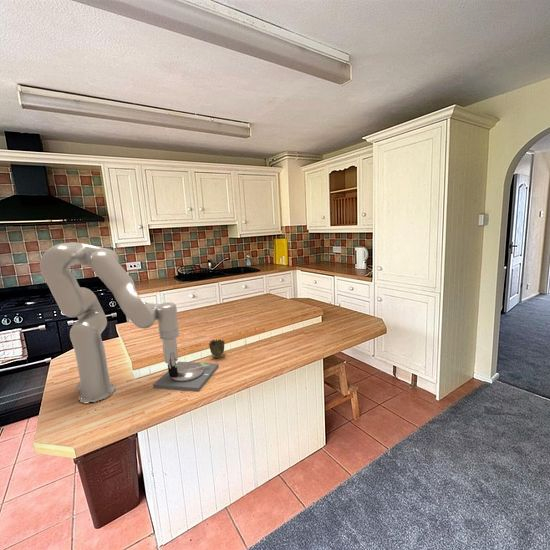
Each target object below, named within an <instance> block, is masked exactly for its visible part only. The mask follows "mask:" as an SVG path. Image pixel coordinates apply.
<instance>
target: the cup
mask: <svg viewBox="0 0 550 550" xmlns="http://www.w3.org/2000/svg"><path fill="white" fill-rule="evenodd" d="M208 345H209V350H210V353H211V355H213V357H214V358H215V359H218V360H219V359H221V358H222V356H223V354H224V352H225V340H224V339H215V340H214V339H213V340H211V341H209V342H208Z"/></svg>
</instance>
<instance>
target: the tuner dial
mask: <svg viewBox="0 0 550 550" xmlns="http://www.w3.org/2000/svg"><path fill="white" fill-rule="evenodd" d="M170 361H171V360H170ZM198 363H199V362H196V363H188V364H183V365H180V366H178V367H177V372H178V376H175V377H171V379H172V380H174V381H178V382H184V381H190V380H193V379H196V378H198V377H200V376H201V375H202V374H203V373H204V367H206V366H210V365H209V364H208V365H204V366H203V365H201V364H198ZM170 364H171V363H170Z"/></svg>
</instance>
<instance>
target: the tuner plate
mask: <svg viewBox="0 0 550 550" xmlns="http://www.w3.org/2000/svg"><path fill="white" fill-rule="evenodd" d="M188 363H198V364H201V365H203V366H204V365H208V364H209V365H210V366H206V367H204V373H203V374H202V375H201V376H200V377H198V378H196V379H193V380H190V381H184V382H178V381H174V380H172V379H171V378H170V376H169V371H168V370H167V371H166V372H164V374H163V375H162V376H161V377H159V378H158V379H157V381H155V382H154V383H153V384H152V388H153V389H159V390H174V391H175V390H176V391H187V392H200V391H201V390H202V389H203V388H204V386H205V385H206V383H207V382H208V381H209V380H210V378H211V377H212V376H213V375H214V373H215V372H216V371H217V370H218V368H220V367H219V363H210V362H209V363H208V362H191V361H176V366H177V367H178V366H180V365H183V364H188ZM212 374H213V375H212Z"/></svg>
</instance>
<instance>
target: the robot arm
mask: <svg viewBox="0 0 550 550" xmlns="http://www.w3.org/2000/svg"><path fill="white" fill-rule="evenodd" d="M119 261H120V259H119V255H118V254H117V252H115V251H114V250H112V249H111V248H110V249H109V248H106V247H102V246H97V245H91V244H87V243H81V242H74V241H73V242H71V241H70V242H62V243H57V244H55V245H53V246H51V247H50V248H48V249H47V250H46V251H45V252H44V253H42V256H41V257H40V261H39V270H40V273H41V275H42V277H43V279H44V281H45V283H46V285H47V286H48V288H49V290H50V292H51V295H52V296H53V298H54V301H55V302H56V304H57V306H58V308H59V310H60V311H61V313H62V314H63V315H64V316H66V317H68V318H77V320H76V321H75V322H74V323H73V325H72V326H71V328H70V331H69V338H70V341H71V343H72V344H71V345H72V347H73V349H74V354H75V359H76V363H77V369H78V375H79V379H80V381H78V383H77V385H76V386H75V390H76V391H80V392H79V395H78V396H77V399H78V401H79V400H80V401H82V402H94V403H97V402H96V401H98V402H100V401H99V400H101V401H103V400H102V399H104V400H105V398H106V399H107V398H109V397H110V395H111V396H112V395H113V394H114V393H115V392H116V385H115V384H114V383H112V382H111V381H110V380H111V379H110V376H109V375H110V373H109V368H108V367H109V366H108V360H107V355H106V348H105V345H104V342H103V340H102V333H103V331H105V329H106V328H107V325H108V319H107V316H106V314H105V312H104V309H103V307H102V306H101V304H100V302H99V299H98V297H97V295H96V294H95V293H94V292H93V291H92V290H91V289H90V288H87V287H83V286H82V287H81V286H80V284H79V282H78V280H77V278H76V277H75V275H74V274H73V273H72V272H71V270H70V269H71V268H70V267H72V266H76V265H78V266H79V265H82V266H86V267H89V268H90V269H91V270H92V271H93V273H95V274H96V276H97V277H98V278H99V279H100V281H101V282H102V283H104V285H105V286H106V287H107V288H108V290H109V291H110V292H111V293H112V295H113V297H114V299H115V301H116V302H117V304H118V305H119V308H120V309H121V310H122V312H123V314H124V315H125V316H126V317H127V318H128V319H129V320H130V321H131V322H132V323H133V324H134V325H135V326H136V327H137V328H140V329H148V328H151V327H153V325H154V324H155V321H157V325H158V336H159V339H160V340H162V341H161V342H162V351H163V360H164V363H165V364H167V369H168V370H167V371H169V376H170V378H171V377H175V376H178V372H177V366H176V363H177V362H178V360H179V356H178V353H179V352H178V341H177V338H178V337H179V336H180V332H179V330H180V329H179V322H178V321H179V320H178V310H177V305H176V304H175V303H174V302H162V303H153V302H152V303H149V302H148V303H144V302H143V300H142V299H141V298H140V296H139V295H138V292H137V290H136V286H135V282H134V280H133V278H132V277H131V276H130V274H129V273H128V272H127V271H126V269H124V268H123V266H122V265H121V264H120V263H119ZM170 360H171V361H170ZM170 363H171V364H170ZM81 398H82V399H81ZM80 401H79V402H80Z"/></svg>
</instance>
